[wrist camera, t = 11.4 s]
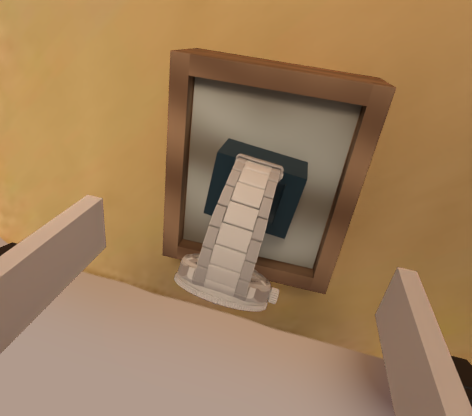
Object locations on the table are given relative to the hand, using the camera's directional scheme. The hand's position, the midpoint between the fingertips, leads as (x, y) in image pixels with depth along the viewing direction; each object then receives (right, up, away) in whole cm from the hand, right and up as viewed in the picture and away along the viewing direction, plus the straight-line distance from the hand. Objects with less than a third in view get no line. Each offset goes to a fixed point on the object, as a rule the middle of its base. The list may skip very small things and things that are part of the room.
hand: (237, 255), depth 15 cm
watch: (+2, +4, +9) cm, 10 cm away
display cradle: (+2, +6, +12) cm, 14 cm away
